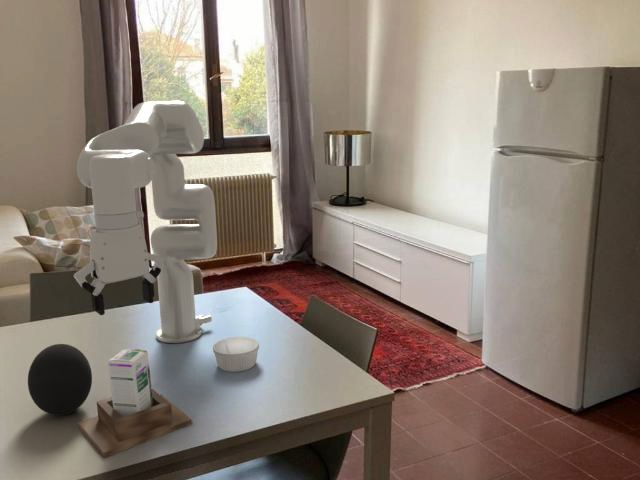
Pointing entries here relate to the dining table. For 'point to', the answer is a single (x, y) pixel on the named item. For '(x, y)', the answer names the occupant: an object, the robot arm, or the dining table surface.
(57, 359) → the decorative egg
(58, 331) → the dining table surface
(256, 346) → the ramekin
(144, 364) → the syrup box
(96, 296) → the robot arm
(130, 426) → the walnut holder
